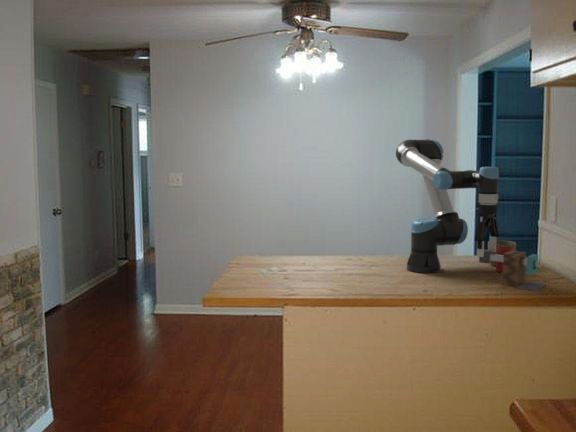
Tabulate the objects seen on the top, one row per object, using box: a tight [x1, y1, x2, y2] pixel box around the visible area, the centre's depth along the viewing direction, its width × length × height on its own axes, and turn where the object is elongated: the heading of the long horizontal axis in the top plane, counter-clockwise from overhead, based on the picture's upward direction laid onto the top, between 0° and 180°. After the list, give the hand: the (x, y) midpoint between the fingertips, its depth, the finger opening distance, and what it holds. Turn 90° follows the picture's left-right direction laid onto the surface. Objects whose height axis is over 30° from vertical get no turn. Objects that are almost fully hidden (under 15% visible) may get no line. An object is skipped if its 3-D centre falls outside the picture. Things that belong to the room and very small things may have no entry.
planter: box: [487, 239, 517, 267], centre depth 277 cm, size 12×12×11 cm
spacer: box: [525, 253, 539, 276], centre depth 236 cm, size 2×7×7 cm, turn 140°
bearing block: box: [501, 250, 527, 288], centre depth 241 cm, size 6×9×13 cm, turn 140°
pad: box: [516, 280, 547, 292], centre depth 238 cm, size 8×12×1 cm, turn 140°
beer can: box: [495, 244, 512, 274], centre depth 263 cm, size 7×7×12 cm
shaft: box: [478, 248, 540, 267], centre depth 242 cm, size 23×4×5 cm, turn 50°
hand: (486, 254), depth 248 cm, fingers open, 13 cm apart
